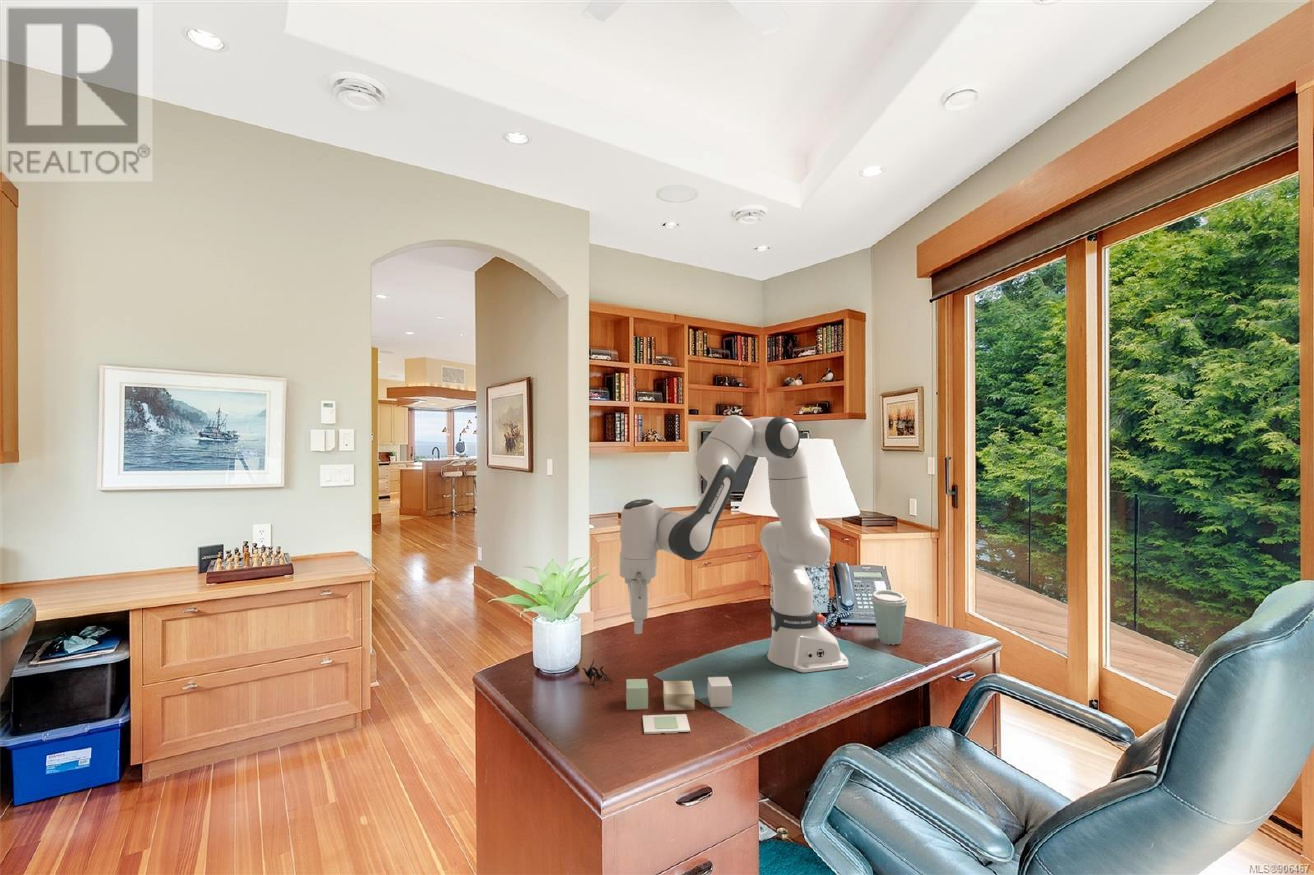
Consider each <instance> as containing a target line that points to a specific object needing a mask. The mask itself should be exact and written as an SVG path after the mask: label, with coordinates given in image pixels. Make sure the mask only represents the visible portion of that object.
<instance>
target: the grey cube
mask: <svg viewBox="0 0 1314 875" xmlns="http://www.w3.org/2000/svg"><path fill="white" fill-rule="evenodd" d="M707 700H708V703H709V705H710V708H725V707H726V708H727V707H729V708H730V707H733V685H732V682H731V680H730V678H729V677H728V676H708V677H707Z"/></svg>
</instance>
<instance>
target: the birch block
mask: <svg viewBox="0 0 1314 875" xmlns="http://www.w3.org/2000/svg"><path fill="white" fill-rule="evenodd" d="M662 687H663V689H662V694H663V695H662V696H663V706H664V708H663V709H664V711H695V708H696V707H695V705H696V704H695V696H696V695H695V694H696V693H695V690H694V686H693V680H663V686H662Z"/></svg>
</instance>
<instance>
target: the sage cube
mask: <svg viewBox="0 0 1314 875" xmlns="http://www.w3.org/2000/svg"><path fill="white" fill-rule="evenodd" d="M625 680H626V681H625V682H626V684H625V685H626V688H625V690H626V692H625V696H626V697H625V698H626V700H625V704H626V706H625V707H626V711H627V710H648V709H649V686H648V679H647V678H629V679H625Z"/></svg>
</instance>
